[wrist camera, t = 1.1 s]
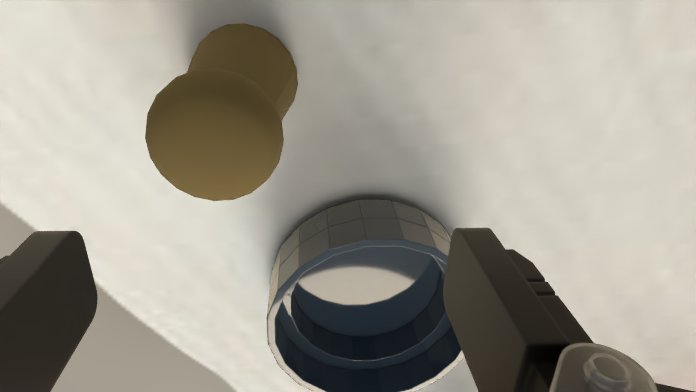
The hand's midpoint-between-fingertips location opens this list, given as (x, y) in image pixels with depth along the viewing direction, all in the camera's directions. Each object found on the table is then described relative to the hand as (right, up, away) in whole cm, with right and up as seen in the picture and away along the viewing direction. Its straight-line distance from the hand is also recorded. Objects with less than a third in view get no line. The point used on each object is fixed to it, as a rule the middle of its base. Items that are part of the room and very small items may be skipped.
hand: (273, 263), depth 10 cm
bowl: (+3, -4, +23) cm, 24 cm away
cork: (-4, +8, +16) cm, 19 cm away
